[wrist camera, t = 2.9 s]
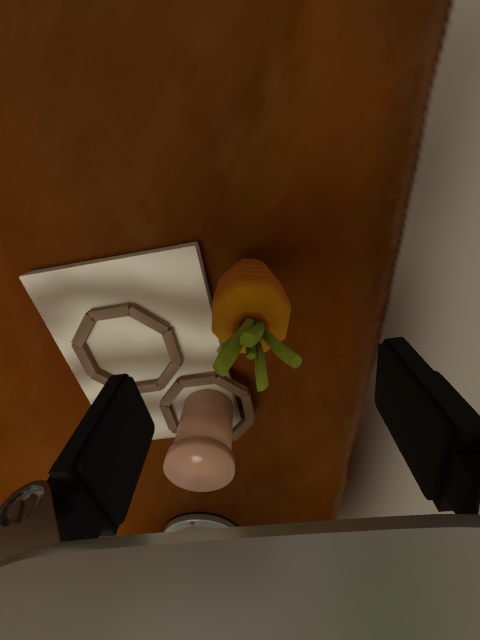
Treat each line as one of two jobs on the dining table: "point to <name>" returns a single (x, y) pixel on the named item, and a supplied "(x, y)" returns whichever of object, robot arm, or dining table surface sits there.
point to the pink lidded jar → (202, 443)
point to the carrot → (251, 318)
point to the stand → (139, 328)
